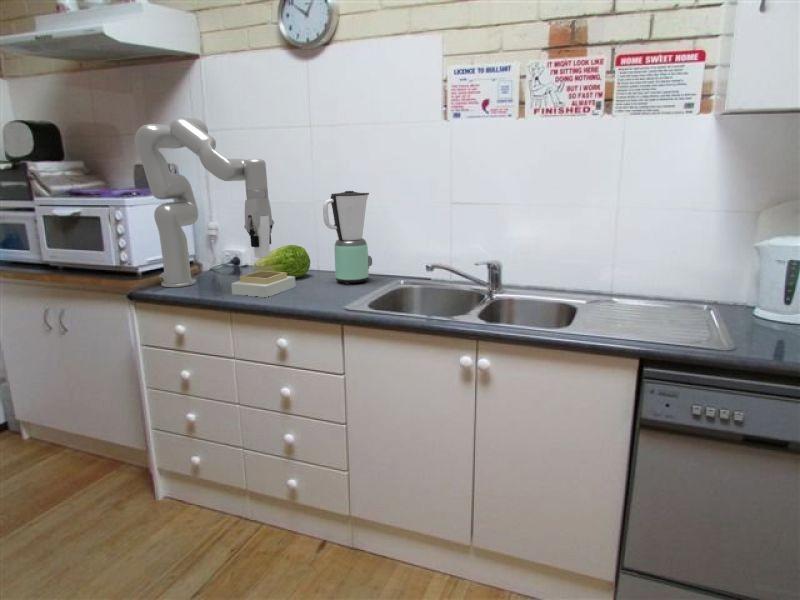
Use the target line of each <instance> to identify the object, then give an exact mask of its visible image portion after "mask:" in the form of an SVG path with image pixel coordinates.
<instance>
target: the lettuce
mask: <svg viewBox="0 0 800 600" xmlns="http://www.w3.org/2000/svg"><path fill="white" fill-rule="evenodd" d="M252 267H253V269H254V270H255V272H257V271H273V272H285V273H287V276H294V277H295V279H299V278H300V277H301V276H304V275H306V274H307V273H308V272H309V269H310V267H311V259H310V255H309V253H308V252H307V251H306V249H305V248H304V247H302V246H299V245H296V244H289V245H285V246H281V247H278V248H276V249H273V250H270V256H269V257H267V258H258V259H257V260H256V261H255V262H254V263H253V266H252Z"/></svg>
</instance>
